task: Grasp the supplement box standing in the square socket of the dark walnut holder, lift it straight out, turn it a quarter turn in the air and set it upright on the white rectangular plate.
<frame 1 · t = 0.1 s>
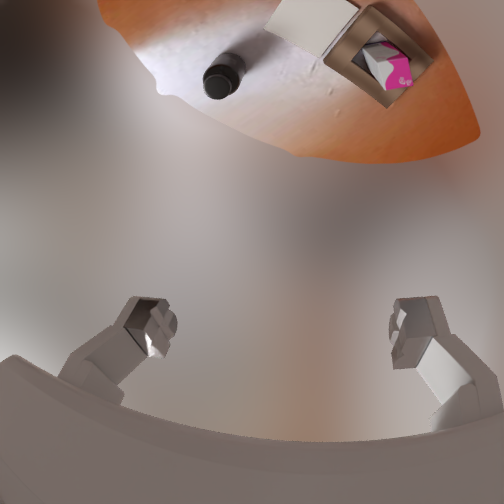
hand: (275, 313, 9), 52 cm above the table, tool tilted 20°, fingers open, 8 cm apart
white rectangular plate: (310, 16, 34), on the table
supplement box: (377, 55, 39), resting in walnut holder
supplement bottle: (229, 66, 46), on the table
walnut holder: (377, 55, 38), on the table
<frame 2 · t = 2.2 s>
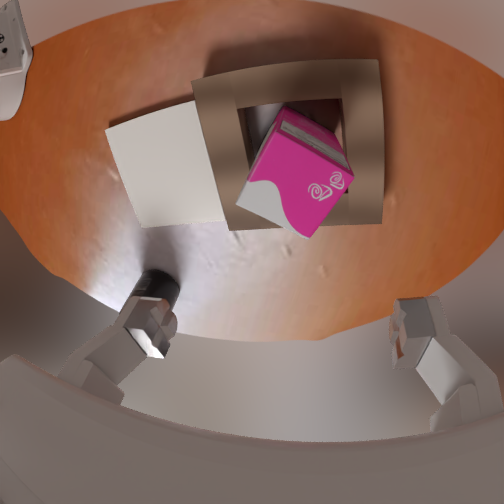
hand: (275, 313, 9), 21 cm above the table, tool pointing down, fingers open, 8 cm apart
white rectangular plate: (165, 170, 30), on the table
supplement box: (297, 141, 25), resting in walnut holder
supplement bottle: (161, 283, 42), on the table
walnut holder: (297, 142, 25), on the table
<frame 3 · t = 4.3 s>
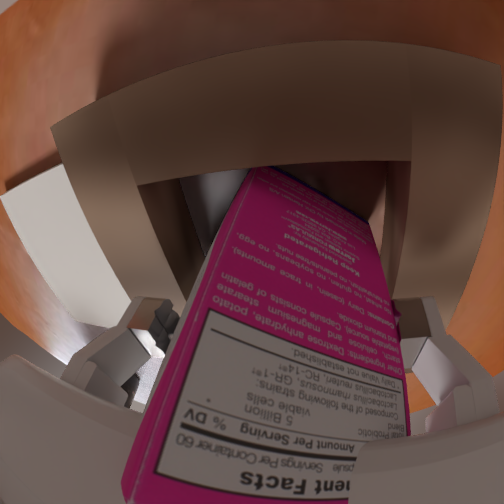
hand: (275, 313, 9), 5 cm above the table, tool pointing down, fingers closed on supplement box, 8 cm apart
white rectangular plate: (78, 259, 17), on the table
supplement box: (287, 233, 13), resting in walnut holder, touching gripper
supplement bottle: (118, 368, 30), on the table
walnut holder: (287, 236, 13), on the table
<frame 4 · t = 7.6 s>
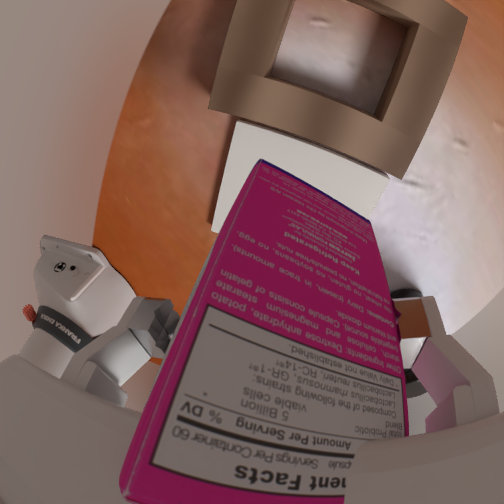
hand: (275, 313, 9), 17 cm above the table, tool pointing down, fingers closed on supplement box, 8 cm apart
white rectangular plate: (294, 201, 26), on the table
supplement box: (289, 232, 13), point 12 cm above the table, touching gripper
supplement bottle: (400, 304, 31), on the table
walnut holder: (340, 46, 16), on the table
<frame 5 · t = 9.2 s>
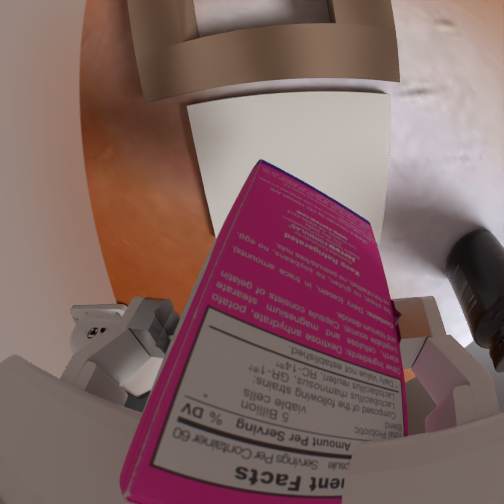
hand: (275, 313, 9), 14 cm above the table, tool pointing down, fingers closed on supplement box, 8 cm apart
white rectangular plate: (294, 170, 20), on the table
supplement box: (289, 233, 13), point 9 cm above the table, touching gripper
supplement bottle: (471, 255, 21), on the table
when the fingers open (7 cm above the table, at t = 10.9 s): supplement box drops 1 cm, resting on white rectangular plate.
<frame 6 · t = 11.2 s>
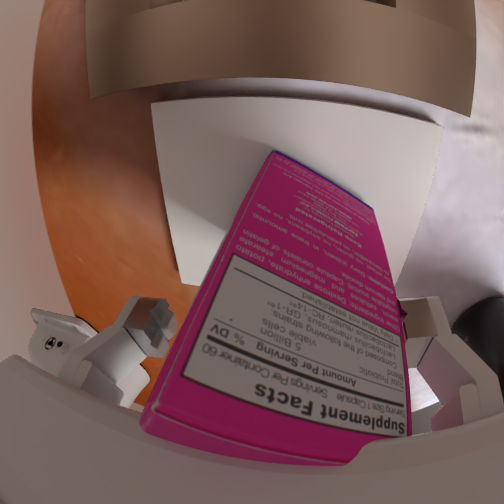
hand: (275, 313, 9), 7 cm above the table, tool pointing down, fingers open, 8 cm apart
white rectangular plate: (291, 209, 15), on the table
supplement box: (299, 218, 14), point 1 cm above the table, touching white rectangular plate, gripper
supplement bottle: (480, 319, 17), on the table
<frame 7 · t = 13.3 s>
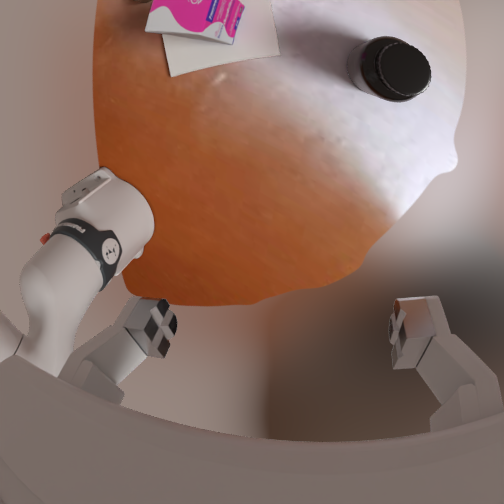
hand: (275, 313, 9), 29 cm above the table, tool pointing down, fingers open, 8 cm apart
white rectangular plate: (215, 23, 24), on the table
supplement box: (218, 21, 24), point 1 cm above the table, touching white rectangular plate
supplement bottle: (373, 68, 25), on the table
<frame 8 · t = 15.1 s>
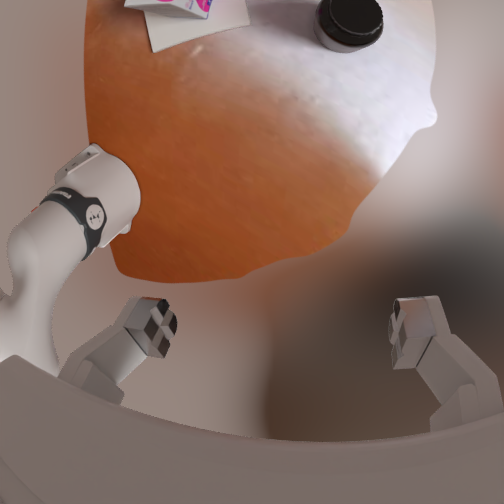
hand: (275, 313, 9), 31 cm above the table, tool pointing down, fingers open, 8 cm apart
white rectangular plate: (192, 2, 24), on the table
supplement box: (194, 1, 23), point 1 cm above the table, touching white rectangular plate
supplement bottle: (340, 30, 24), on the table
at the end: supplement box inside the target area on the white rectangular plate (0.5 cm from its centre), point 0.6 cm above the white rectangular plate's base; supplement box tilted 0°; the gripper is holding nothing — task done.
